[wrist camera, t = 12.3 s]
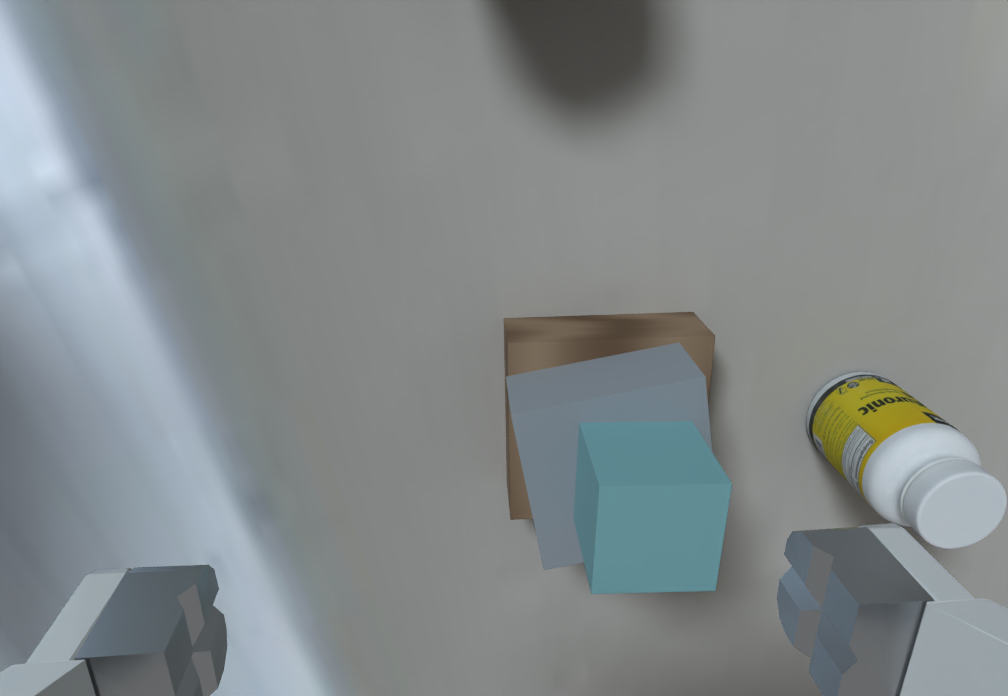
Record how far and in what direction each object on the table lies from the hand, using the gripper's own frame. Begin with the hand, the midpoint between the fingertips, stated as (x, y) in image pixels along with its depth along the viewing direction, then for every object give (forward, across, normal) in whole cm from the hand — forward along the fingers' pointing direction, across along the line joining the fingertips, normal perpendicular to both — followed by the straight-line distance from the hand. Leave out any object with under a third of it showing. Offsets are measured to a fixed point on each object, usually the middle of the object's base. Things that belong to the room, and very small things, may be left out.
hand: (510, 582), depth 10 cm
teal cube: (+19, -7, +10) cm, 23 cm away
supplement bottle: (+26, -22, +12) cm, 36 cm away
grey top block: (+23, -7, +11) cm, 26 cm away
